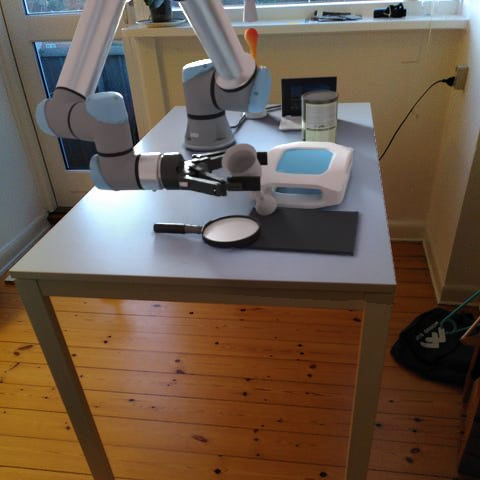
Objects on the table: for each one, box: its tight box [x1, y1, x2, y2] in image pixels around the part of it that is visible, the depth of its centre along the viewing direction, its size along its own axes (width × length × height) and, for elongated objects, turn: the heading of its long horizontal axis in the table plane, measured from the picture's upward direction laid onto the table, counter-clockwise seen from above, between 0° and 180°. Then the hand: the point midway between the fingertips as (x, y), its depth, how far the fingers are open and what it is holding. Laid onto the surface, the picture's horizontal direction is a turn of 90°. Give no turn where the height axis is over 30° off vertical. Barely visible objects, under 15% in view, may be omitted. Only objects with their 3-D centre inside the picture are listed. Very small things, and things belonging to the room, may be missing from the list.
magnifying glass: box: [152, 214, 261, 250], centre depth 110 cm, size 12×24×2 cm, turn 73°
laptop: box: [278, 75, 338, 131], centre depth 164 cm, size 18×12×13 cm
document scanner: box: [249, 140, 354, 210], centre depth 127 cm, size 21×28×6 cm
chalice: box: [222, 143, 278, 215], centre depth 108 cm, size 7×7×18 cm
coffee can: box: [301, 90, 340, 144], centre depth 147 cm, size 10×10×14 cm
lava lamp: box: [242, 0, 268, 119], centre depth 170 cm, size 9×9×35 cm
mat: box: [234, 206, 360, 257], centre depth 110 cm, size 18×24×1 cm
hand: (264, 170), depth 105 cm, fingers open, 13 cm apart
